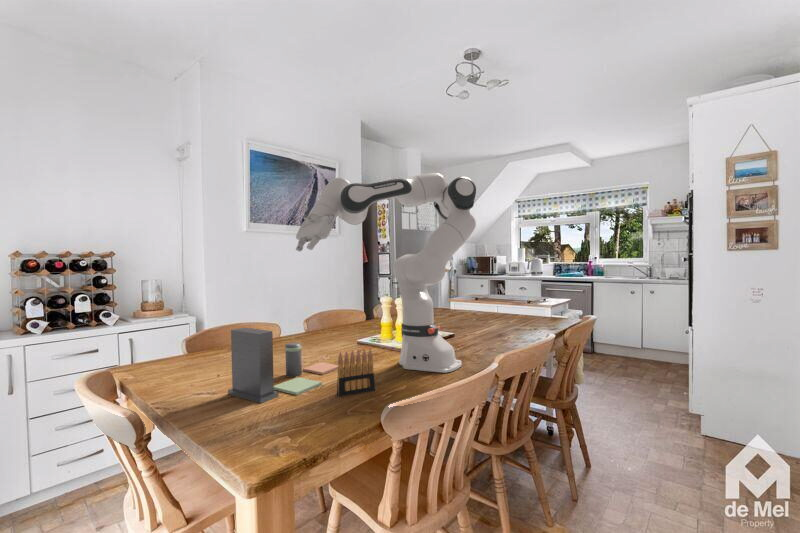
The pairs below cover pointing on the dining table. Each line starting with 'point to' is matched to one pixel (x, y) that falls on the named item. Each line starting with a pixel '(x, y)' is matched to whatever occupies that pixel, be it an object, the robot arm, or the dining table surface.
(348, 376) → the ammunition clip
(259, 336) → the block
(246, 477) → the dining table surface
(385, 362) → the dining table surface
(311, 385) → the sage green pad
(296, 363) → the cartridge
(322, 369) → the terracotta pad
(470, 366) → the dining table surface
